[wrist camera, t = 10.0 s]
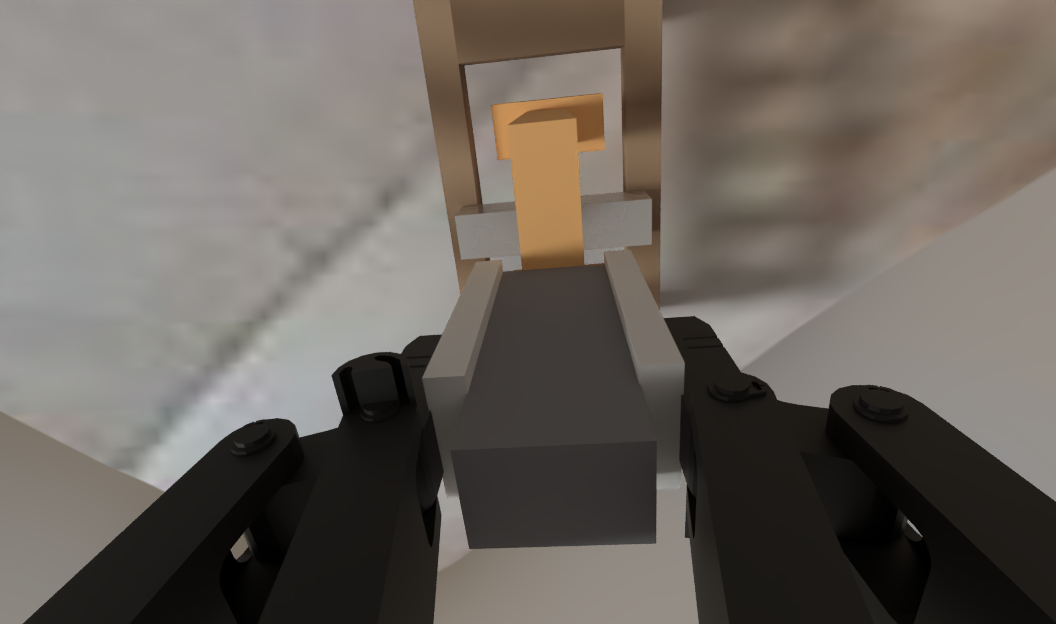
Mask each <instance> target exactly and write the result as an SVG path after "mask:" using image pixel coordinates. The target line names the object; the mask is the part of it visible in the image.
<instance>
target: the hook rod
mask: <svg viewBox="0 0 1056 624" xmlns="http://www.w3.org/2000/svg"><path fill="white" fill-rule="evenodd" d="M581 214H582V232H583V250H589V249H602V248H615V247H627V246H640V245H652V198H651V197H650V196H649V195H648V194H647V193H646V192H645V191H644V190H641V191H630V192H618V193H607V194H596V195H584V196H581ZM454 217H455V223H456V229H457V236H458V242H459V248H460V255H461V260H463V259H476V258H488V257H501V256H514V255H521V251H520V242H519V232H518V223H517V214H516V204H515V202H505V203H494V204H482V205H471V206H462V207H461V208H460V210H459V211H458V212H457V213H456V215H455V216H454Z"/></svg>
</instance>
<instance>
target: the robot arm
mask: <svg viewBox="0 0 1056 624" xmlns="http://www.w3.org/2000/svg"><path fill="white" fill-rule="evenodd" d="M604 262H605V267H606V271H607V274H608V278H609V281H610V285H611V288H612V292H613V295H614V299H615V302H616V305H617V309H618V312H619V316H620V319H621V323H622V326H623V330H624V333H625V337H626V340H627V344H628V347H629V351H630V354H631V358H632V361H633V365H634V368H635V372H636V375H637V379H638V382H639V384H640V385H641V388H642V392H643V395H644V399H645V402H646V405H647V409H648V412H649V416H650V419H651V423H652V426H653V429H654V433H655V436H656V440H657V490H658V489H680V488H681V467H682V470H683V473H684V476H685V479H686V482H687V496H686V522H685V538H690V546H691V554H692V564H693V574H694V583H695V592H696V601H697V609H698V619H699V624H1056V502H1055V501H1054V500H1053V499H1051V498H1050V497H1049V496H1047V495H1046V494H1044V493H1043V492H1042V491H1040V490H1039V489H1037V488H1036V487H1035V486H1034V485H1032V484H1031V483H1030V482H1028V481H1027V480H1025V479H1024V478H1023V477H1021V476H1020V475H1019V474H1017V473H1016V472H1015V471H1013V470H1012V469H1011V468H1009V467H1008V466H1007V465H1005V464H1004V463H1002V462H1001V461H1000V460H998V459H997V458H996V457H994V456H993V455H992V454H990V453H989V452H987V451H986V450H985V449H984V448H982V447H981V446H979V445H978V444H977V443H975V442H974V441H973V440H971V439H970V438H969V437H967V436H966V435H964V434H963V433H962V432H961V431H959V430H958V429H956V428H955V427H954V426H952V425H951V424H950V423H948V422H947V421H946V420H944V419H943V418H941V417H940V416H939V415H937V414H936V413H935V412H933V411H932V410H931V409H929V408H928V407H927V406H925V405H924V404H923V403H921V402H919V401H917V400H915V399H914V398H912V397H910V396H908V395H906V394H903V393H900V392H897V391H894V390H892V389H890V388H886V387H881V386H880V387H878V386H874V385H852V386H847V387H843V388H839V389H838V390H836V391H835V392H834V393H833V394H831V398H830V404H829V409H827V408H819V407H811V406H804V405H797V404H791V403H786V402H782V401H779V400H777V398H776V396H775V394H774V391H773V390H772V389H771V388H770V387H769V385H768V384H767V383H765V382H764V381H762V380H760V379H758V378H757V377H755V376H751V375H748V374H745V373H741V372H740V370H739V369H738V367H737V365H736V364H735V362H734V361H733V359H732V358H731V356H730V355H729V353H728V352H727V350H726V349H725V347H723V344H722V343H721V341H720V340H719V338H717V335H716V334H715V332H714V331H713V329H712V328H711V326H710V325H709V324H707V323H705V322H704V321H702V320H700V319H698V318H697V317H695V316H690V317H675V318H663V316H662V314H661V312H660V310H659V308H658V306H657V304H656V302H655V300H654V298H653V295H652V293H651V291H650V289H649V287H648V285H647V283H646V281H645V279H644V277H643V275H642V272H641V270H640V268H639V266H638V264H637V262H636V260H635V258H634V256H633V254H632V251H631V250H621V251H608V252H604ZM502 273H503V269H502V261H501V260H493V261H480V262H476V263H475V265H474V267H473V269H472V271H471V274H470V276H469V278H468V280H467V282H466V284H465V287H464V289H463V291H462V293H461V295H460V297H459V299H458V302H457V304H456V306H455V308H454V310H453V312H452V315H451V317H450V319H449V321H448V323H447V325H446V328H445V330H444V332H443V334H442V335H427V336H419V337H418V338H416V339H415V340H414V341H412V342H411V343H410V344H408V345H407V346H406V347H405V348H404V350H403V352H402V353H401V354H398V353H393V352H379V353H373V354H368V355H363V356H360V357H358V358H355V359H353V360H350V361H348V362H347V363H345V364H343V365H342V366H340V367H339V368H338V369H337V370H336V371H335V372H334V373H333V374H332V379H333V382H334V386H335V389H336V392H337V396H338V399H339V403H340V406H341V410H342V413H343V417H342V419H341V422H340V424H339V427H338V428H335V429H332V430H328V431H324V432H320V433H316V434H312V435H308V436H304V437H300V438H299V435H298V432H297V429H296V427H295V425H294V424H293V423H292V422H291V421H289V420H286V419H279V418H275V419H267V420H265V419H264V420H259V421H256V422H255V423H254V422H252V423H249V424H246V425H245V426H243V427H242V428H240V429H238V430H236V431H234V432H232V433H231V434H229V435H228V436H227V437H225V438H224V439H222V440H221V441H220V442H219V443H218V444H217V445H215V446H214V447H213V448H212V449H211V450H210V451H209V452H208V453H207V454H206V455H205V456H204V457H203V458H201V459H200V460H199V461H198V462H197V463H196V464H195V465H194V466H193V467H192V468H191V469H190V470H188V471H187V472H186V473H185V474H184V475H183V476H182V477H181V478H180V479H179V480H178V481H177V482H175V483H174V484H173V485H172V486H171V487H170V488H169V489H168V490H167V491H166V492H165V493H164V494H163V495H161V496H160V497H159V498H158V499H157V500H156V501H155V502H154V503H153V504H152V505H151V506H150V507H149V508H147V509H146V510H145V511H144V512H143V513H142V514H141V515H140V516H139V517H138V518H137V519H135V520H134V521H133V522H132V523H131V524H130V525H129V526H128V527H127V528H126V529H125V530H124V531H123V532H121V533H120V534H119V535H118V536H117V537H116V538H115V539H114V540H113V541H112V542H111V543H110V544H108V545H107V546H106V547H105V548H104V549H103V550H102V551H101V552H100V553H99V554H98V555H97V556H95V557H94V558H93V559H92V560H91V561H90V562H89V563H88V564H87V565H86V566H85V567H84V568H83V569H82V570H80V571H79V572H78V573H77V574H76V575H75V576H74V577H73V578H72V579H71V580H70V581H68V582H67V583H66V584H65V585H64V586H63V587H62V588H61V589H60V590H59V591H58V592H57V593H55V594H54V596H52V597H51V598H50V599H49V600H48V601H47V602H46V603H45V604H44V605H42V606H41V607H40V608H39V609H38V610H37V611H36V612H35V613H34V614H33V615H32V616H31V617H30V618H29V619H27V620H26V621H25V622H24V623H23V624H433V622H434V621H433V620H434V608H435V595H436V581H437V568H438V554H439V541H440V527H441V511H440V506H439V501H438V497H437V494H438V491H439V487H440V484H441V480H442V477H443V481H444V486H445V491H446V495H447V498H452V497H459V494H458V489H457V484H456V478H455V473H454V468H453V463H452V458H451V453H450V449H451V445H452V442H453V438H454V435H455V432H456V428H457V425H458V421H459V418H460V414H461V411H462V408H463V404H464V401H465V397H466V394H468V391H469V387H470V384H471V380H472V377H473V373H474V370H475V366H476V363H477V359H478V356H479V353H480V349H481V346H482V342H483V339H484V335H485V332H486V328H487V325H488V321H489V318H490V314H491V311H492V307H493V304H494V300H495V297H496V294H497V290H498V287H499V283H500V280H501V276H502ZM907 520H909V521H910V522H911V523H912V524H913V525H914V526H915V527H916V529H917V530H918V531H919V532H920V534H921V535H922V536H923V537H921V536H920V535H919V534H918V533H917V532H916V531H915V530H914V529H913V528H912V527H911V526H910V525H909V524H908V523H907ZM242 534H243V535H244V537H245V539H246V541H247V544H248V546H249V547H248V548H247V549H246V551H245V552H244V553H243V554H242V555H241V556H240V557H239V558H238V559H237V560H236V559H235V558H234V557H233V555H232V552H231V550H230V549H231V548H232V547H233V545H234V544H235V543H236V542H237V540H238V539H239V538H240V536H241V535H242Z"/></svg>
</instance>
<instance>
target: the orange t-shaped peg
mask: <svg viewBox="0 0 1056 624" xmlns="http://www.w3.org/2000/svg"><path fill="white" fill-rule="evenodd" d="M491 107H492V115H493V124H494V133H495V141H496V150H497V158H498V160H503V159H511V167H512V176H513V185H514V195H515V204H516V214H517V223H518V232H519V242H520V251H521V261H522V270H514V271H507V272H503V273H502V276H501V280H500V283H499V287H498V290H497V294H496V297H495V300H494V304H493V307H492V311H491V314H490V318H489V321H488V325H487V328H486V332H485V335H484V339H483V342H482V346H481V349H480V353H479V356H478V359H477V363H476V366H475V370H474V373H473V377H472V380H471V384H470V387H469V391H468V394H466V397H465V401H464V404H463V408H462V411H461V414H460V418H459V421H458V425H457V428H456V432H455V435H454V438H453V442H452V445H451V449H450V453H451V458H452V463H453V468H454V473H455V478H456V484H457V489H458V494H459V499H460V504H461V509H462V514H463V519H464V524H465V529H466V534H467V539H468V545H469V549H482V548H517V547H549V546H583V545H584V546H585V545H617V544H618V545H619V544H652V543H656V490H657V440H656V436H655V433H654V429H653V426H652V423H651V419H650V416H649V412H648V409H647V405H646V402H645V399H644V395H643V392H642V388H641V385H640V384H639V382H638V379H637V375H636V372H635V368H634V365H633V361H632V358H631V354H630V351H629V347H628V344H627V340H626V337H625V333H624V330H623V326H622V323H621V319H620V316H619V312H618V309H617V305H616V302H615V299H614V295H613V292H612V288H611V285H610V281H609V278H608V274H607V271H606V267H605V263H602V264H589V265H584V251H583V232H582V214H581V195H580V177H579V159H578V152H588V151H598V150H605V147H604V118H603V94H601V93H599V94H590V95H580V96H571V97H561V98H552V99H542V100H532V101H523V102H513V103H504V104H494V105H491Z"/></svg>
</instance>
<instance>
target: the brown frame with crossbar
mask: <svg viewBox="0 0 1056 624" xmlns="http://www.w3.org/2000/svg"><path fill="white" fill-rule="evenodd" d="M413 4H414V10H415V17H416V23H417V29H418V35H419V41H420V47H421V54H422V60H423V66H424V72H425V78H426V84H427V90H428V97H429V103H430V109H431V115H432V121H433V127H434V134H435V140H436V146H437V152H438V158H439V164H440V171H441V177H442V183H443V189H444V195H445V201H446V208H447V214H448V220H449V226H450V232H451V238H452V245H453V251H454V257H455V263H456V269H457V275H458V282H459V288H460V294H461V293H462V291H463V289H464V287H465V284H466V282H467V280H468V278H469V276H470V274H471V271H472V269H473V267H474V265H475V263H476V262H480V261H490V257H488V258H476V259H463V260H461V255H460V248H459V242H458V236H457V229H456V223H455V217H454V216H455V215H456V213H457V212H458V211H459V210H460V208H461V207H462V206H471V205H482V196H481V189H480V181H479V173H478V166H477V158H476V151H475V143H474V136H473V128H472V121H471V113H470V106H469V98H468V91H467V83H466V76H465V68H464V65H472V64H481V63H490V62H499V61H508V60H517V59H526V58H535V57H544V56H553V55H562V54H571V53H580V52H589V51H598V50H607V49H616V48H621V91H622V141H623V191H624V192H630V191H641V190H644V191H645V192H646V193H647V194H648V195H649V196H650V197H651V198H652V245H640V246H627V247H625V250H631V251H632V254H633V256H634V258H635V260H636V262H637V264H638V266H639V268H640V270H641V272H642V275H643V277H644V279H645V281H646V283H647V285H648V287H649V289H650V291H651V293H652V295H653V298H654V300H655V302H656V304H657V306H658V308H659V310H660V204H661V96H662V0H413Z"/></svg>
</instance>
